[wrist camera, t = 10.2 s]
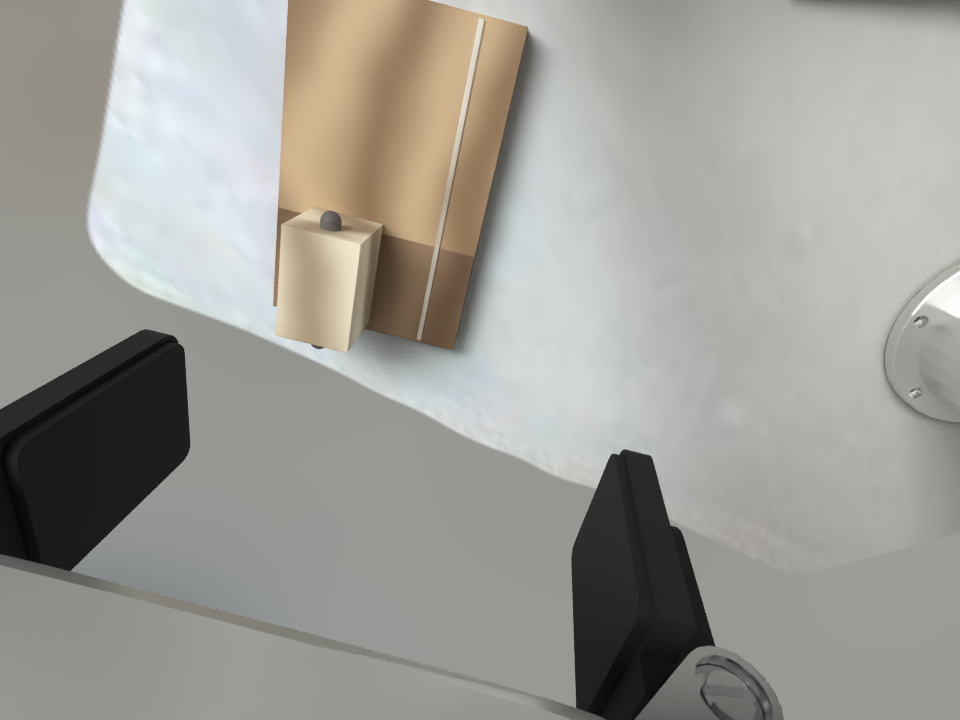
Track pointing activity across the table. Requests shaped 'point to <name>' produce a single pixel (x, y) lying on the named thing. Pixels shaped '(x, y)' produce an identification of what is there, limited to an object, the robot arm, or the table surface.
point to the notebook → (399, 142)
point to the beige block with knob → (326, 278)
